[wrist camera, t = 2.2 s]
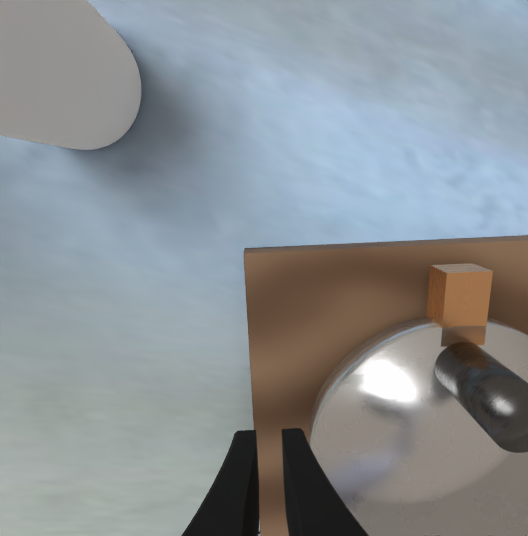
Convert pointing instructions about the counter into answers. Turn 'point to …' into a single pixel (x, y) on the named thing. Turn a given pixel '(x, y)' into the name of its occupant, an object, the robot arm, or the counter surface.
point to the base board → (345, 323)
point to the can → (64, 75)
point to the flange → (431, 419)
